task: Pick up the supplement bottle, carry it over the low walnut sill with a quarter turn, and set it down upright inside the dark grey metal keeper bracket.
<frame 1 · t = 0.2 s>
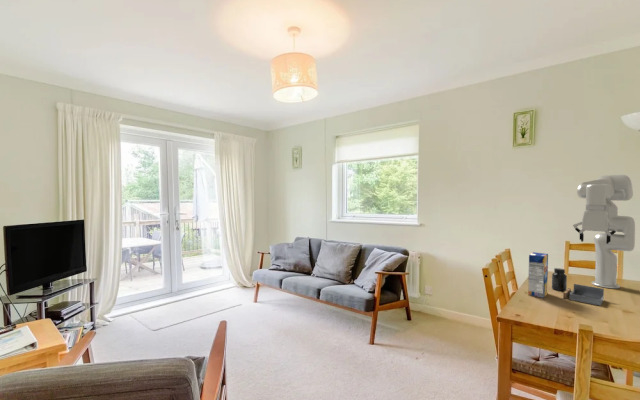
hand: (594, 242, 158), 31 cm above the table, tool pointing down, fingers open, 9 cm apart
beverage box: (537, 294, 172), on the table
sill: (567, 296, 169), on the table
keeper: (586, 299, 163), on the table
supplement bottle: (559, 290, 180), on the table
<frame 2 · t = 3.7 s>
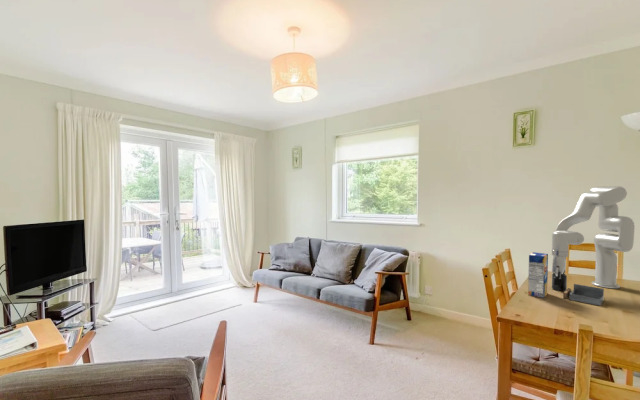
hand: (559, 283, 180), 3 cm above the table, tool pointing down, fingers closed on supplement bottle, 6 cm apart
supplement bottle: (559, 290, 180), on the table, touching gripper
everything else where it was.
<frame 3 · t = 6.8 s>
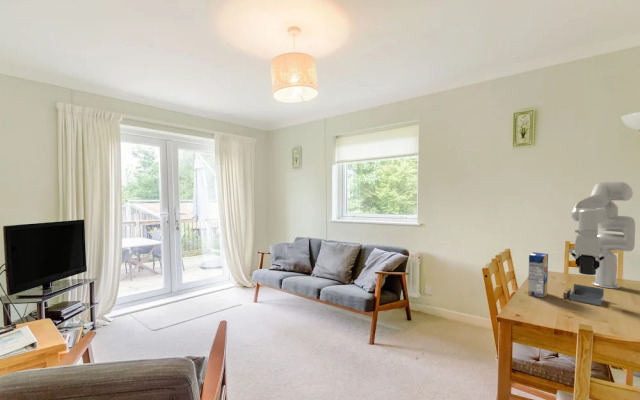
hand: (587, 267, 163), 17 cm above the table, tool pointing down, fingers closed on supplement bottle, 6 cm apart
supplement bottle: (587, 274, 163), point 14 cm above the table, touching gripper
everything else where it was.
when the fingers open (5 cm above the table, at t = 9.8 s): supplement bottle drops 2 cm, resting in keeper.
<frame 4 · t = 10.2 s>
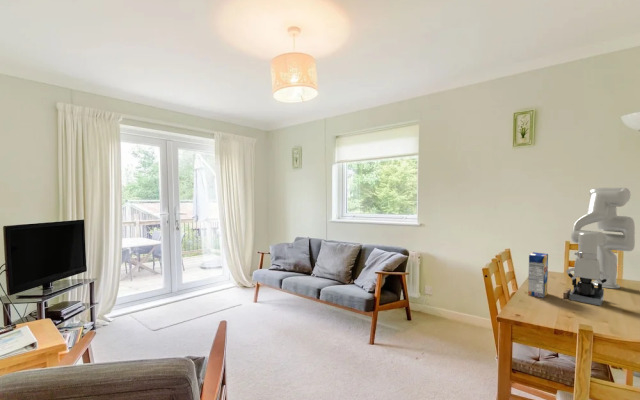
hand: (586, 288, 163), 6 cm above the table, tool pointing down, fingers open, 9 cm apart
supplement bottle: (585, 300, 163), resting in keeper
everything else where it was.
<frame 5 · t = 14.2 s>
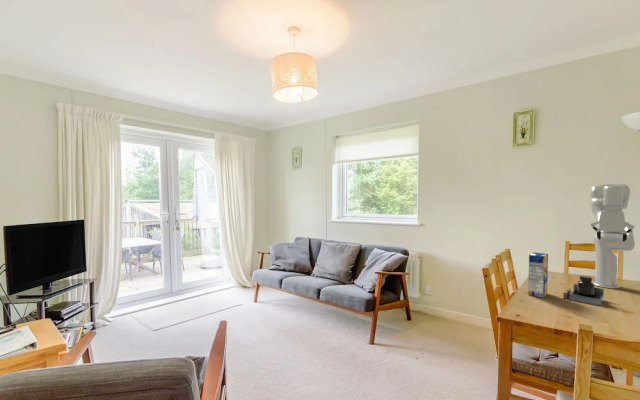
hand: (611, 240, 169), 30 cm above the table, tool pointing down, fingers open, 9 cm apart
nothing on the table moved.
at the end: supplement bottle inside the target area on the keeper (0.4 cm from its centre), point 0.0 cm above the keeper's base; supplement bottle tilted 0°; the gripper is holding nothing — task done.
